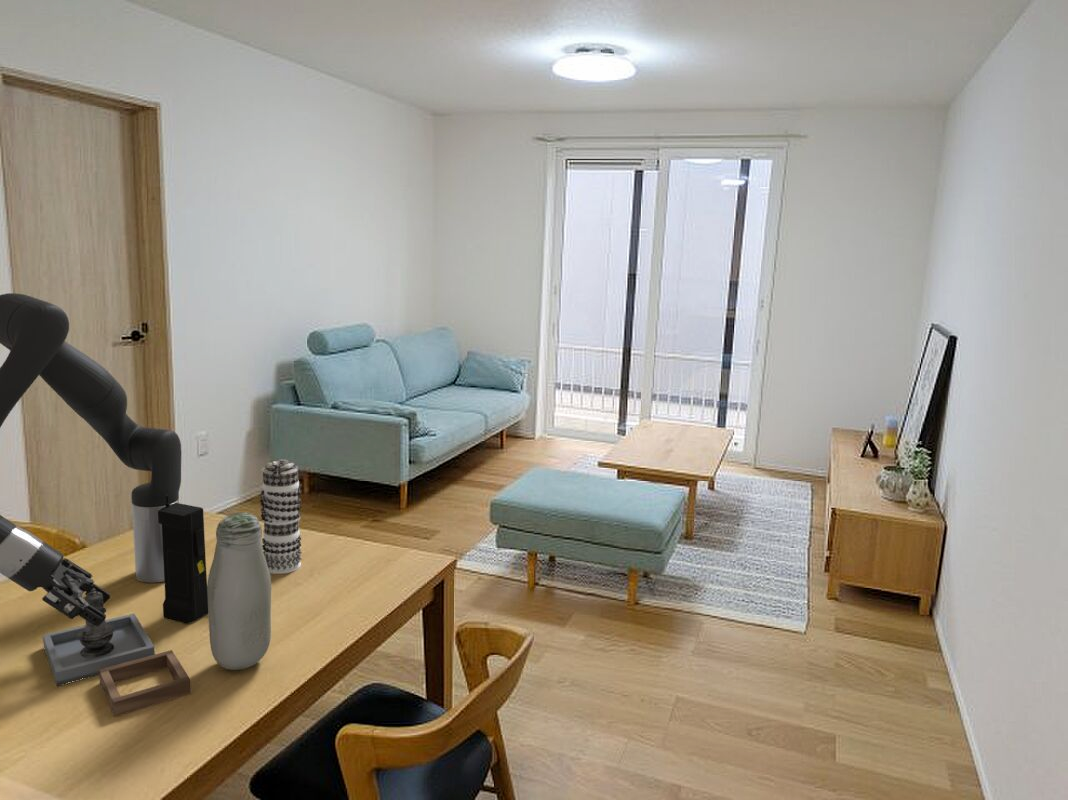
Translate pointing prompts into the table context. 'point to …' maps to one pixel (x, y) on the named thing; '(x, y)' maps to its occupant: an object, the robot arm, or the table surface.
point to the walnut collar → (148, 695)
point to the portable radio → (184, 562)
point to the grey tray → (74, 666)
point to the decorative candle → (281, 516)
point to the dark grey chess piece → (96, 631)
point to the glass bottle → (239, 594)
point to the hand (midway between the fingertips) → (104, 610)
